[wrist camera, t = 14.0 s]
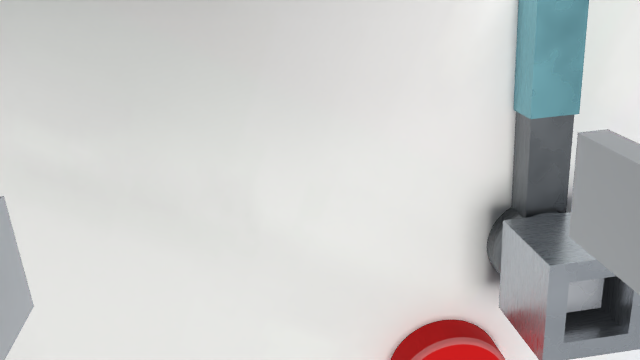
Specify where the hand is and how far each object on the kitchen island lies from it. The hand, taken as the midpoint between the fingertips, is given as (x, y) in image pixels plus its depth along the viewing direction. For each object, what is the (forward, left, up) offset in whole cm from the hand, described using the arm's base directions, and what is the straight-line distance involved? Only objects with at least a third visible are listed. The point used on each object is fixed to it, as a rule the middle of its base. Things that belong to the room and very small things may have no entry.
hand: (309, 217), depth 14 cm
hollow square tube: (+22, +15, -26) cm, 37 cm away
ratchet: (+15, +17, -29) cm, 36 cm away
